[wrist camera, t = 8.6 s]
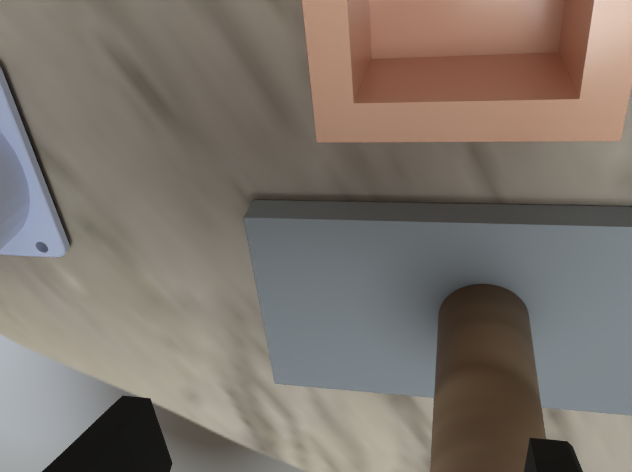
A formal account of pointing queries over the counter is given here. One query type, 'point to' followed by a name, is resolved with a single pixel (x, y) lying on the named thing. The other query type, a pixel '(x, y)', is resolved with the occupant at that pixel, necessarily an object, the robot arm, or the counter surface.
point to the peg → (484, 383)
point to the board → (442, 291)
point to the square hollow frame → (469, 69)
